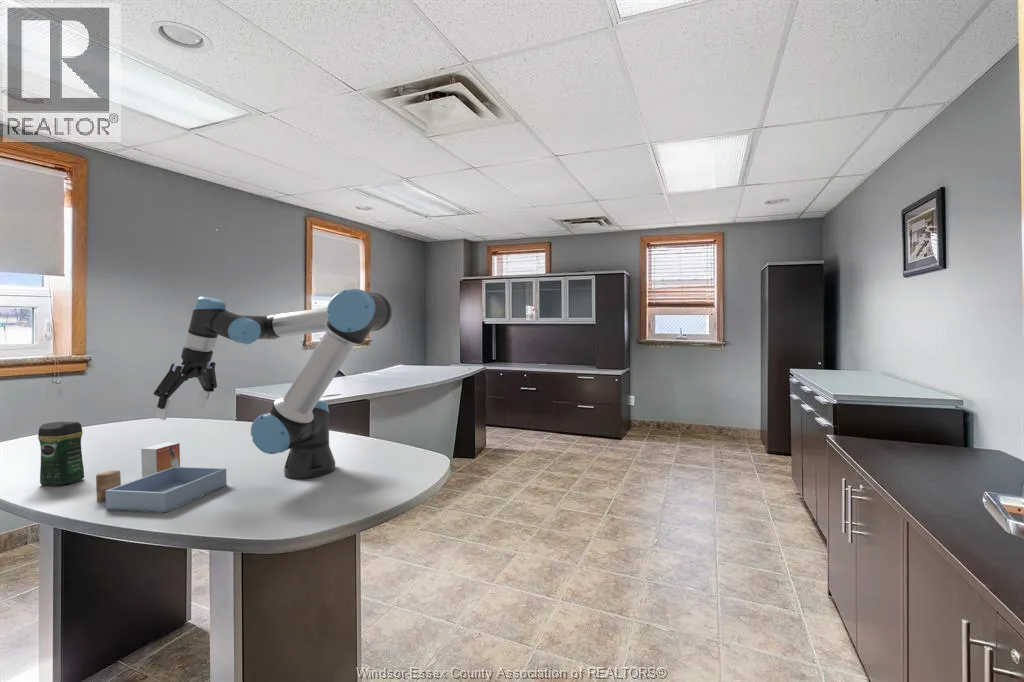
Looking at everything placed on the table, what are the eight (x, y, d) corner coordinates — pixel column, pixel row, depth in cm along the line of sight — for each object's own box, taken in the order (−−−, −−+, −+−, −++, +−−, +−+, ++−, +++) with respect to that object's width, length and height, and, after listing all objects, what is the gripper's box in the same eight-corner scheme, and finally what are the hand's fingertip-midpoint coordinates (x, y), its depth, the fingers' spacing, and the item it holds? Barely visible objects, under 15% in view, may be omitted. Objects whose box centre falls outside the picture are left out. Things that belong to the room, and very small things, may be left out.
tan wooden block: (126, 495, 126) (125, 470, 126) (107, 502, 121) (106, 476, 121) (110, 494, 127) (109, 470, 127) (91, 501, 122) (90, 475, 122)
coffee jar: (90, 478, 141) (88, 419, 141) (62, 487, 133) (60, 424, 133) (62, 477, 142) (60, 419, 142) (33, 486, 134) (31, 424, 134)
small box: (156, 484, 135) (155, 449, 135) (141, 483, 136) (140, 448, 136) (181, 475, 143) (180, 442, 143) (166, 474, 144) (165, 441, 144)
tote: (226, 485, 134) (226, 468, 133) (165, 513, 114) (164, 493, 113) (174, 483, 136) (174, 466, 136) (106, 509, 116) (105, 490, 116)
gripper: (220, 342, 149) (203, 402, 150) (150, 345, 124) (130, 417, 125) (240, 349, 148) (223, 410, 149) (173, 354, 123) (153, 427, 125)
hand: (180, 413), depth 137 cm, fingers open, 13 cm apart
